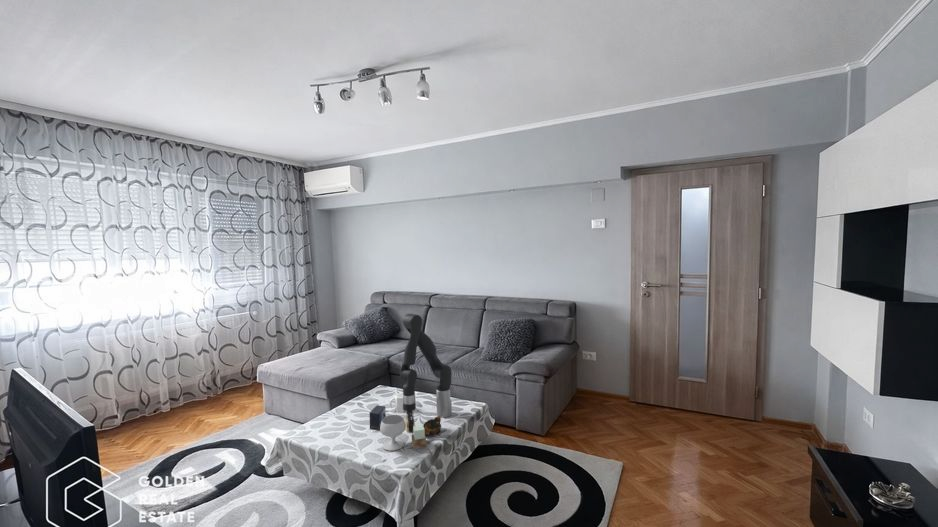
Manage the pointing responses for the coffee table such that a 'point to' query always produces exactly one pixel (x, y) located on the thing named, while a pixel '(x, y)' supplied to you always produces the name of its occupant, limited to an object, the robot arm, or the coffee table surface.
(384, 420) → the chalice
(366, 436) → the coffee table surface
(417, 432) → the tower cube
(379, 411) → the small box
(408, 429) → the oak block
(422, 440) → the tower slab
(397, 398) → the mug
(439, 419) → the decorative turtle
